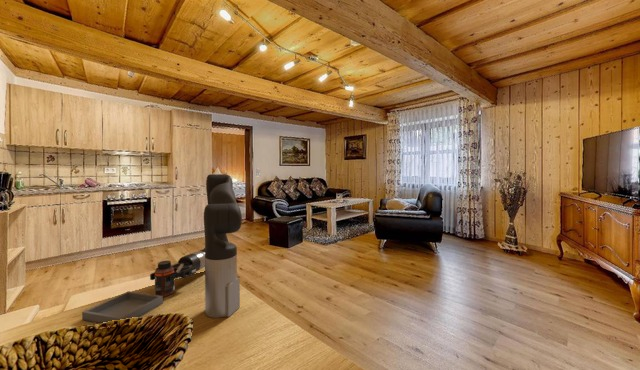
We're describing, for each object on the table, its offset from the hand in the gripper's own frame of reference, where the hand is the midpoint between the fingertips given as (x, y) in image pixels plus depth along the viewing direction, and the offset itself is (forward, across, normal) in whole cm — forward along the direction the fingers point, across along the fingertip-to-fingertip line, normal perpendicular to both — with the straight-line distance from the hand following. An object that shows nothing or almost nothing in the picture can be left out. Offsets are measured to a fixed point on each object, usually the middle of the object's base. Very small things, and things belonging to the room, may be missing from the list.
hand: (158, 278), depth 90 cm
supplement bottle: (-2, 0, +7) cm, 7 cm away
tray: (+11, -2, +6) cm, 13 cm away
